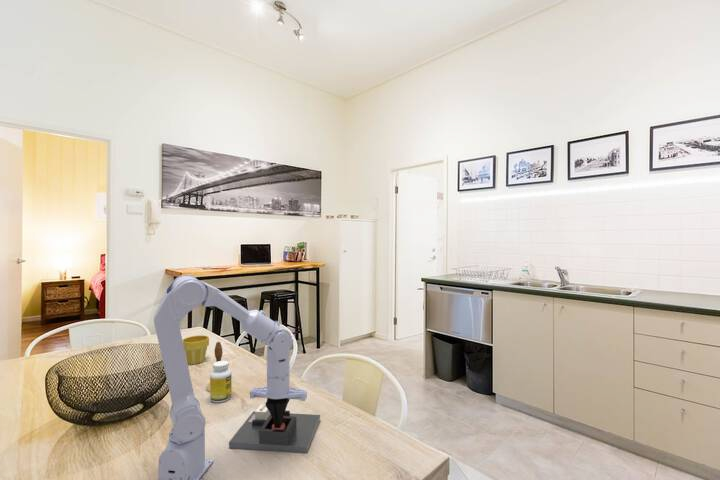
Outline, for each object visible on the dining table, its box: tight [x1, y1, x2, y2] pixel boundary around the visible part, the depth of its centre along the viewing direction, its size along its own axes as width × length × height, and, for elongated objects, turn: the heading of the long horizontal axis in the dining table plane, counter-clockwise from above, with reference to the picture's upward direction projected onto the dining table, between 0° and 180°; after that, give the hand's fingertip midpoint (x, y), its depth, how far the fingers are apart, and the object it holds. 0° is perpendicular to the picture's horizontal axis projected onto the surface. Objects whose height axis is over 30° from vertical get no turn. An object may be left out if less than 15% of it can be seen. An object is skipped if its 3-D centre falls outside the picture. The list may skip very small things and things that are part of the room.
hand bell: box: [205, 341, 223, 393], centre depth 120 cm, size 8×8×16 cm
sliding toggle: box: [255, 402, 271, 420], centre depth 96 cm, size 4×3×4 cm
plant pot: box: [182, 334, 210, 365], centre depth 144 cm, size 10×10×10 cm
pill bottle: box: [209, 360, 233, 403], centre depth 112 cm, size 6×6×12 cm
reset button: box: [272, 422, 285, 430], centre depth 89 cm, size 3×3×3 cm
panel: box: [228, 409, 321, 454], centre depth 92 cm, size 15×20×5 cm
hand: (278, 425), depth 88 cm, fingers closed, pressing on reset button
